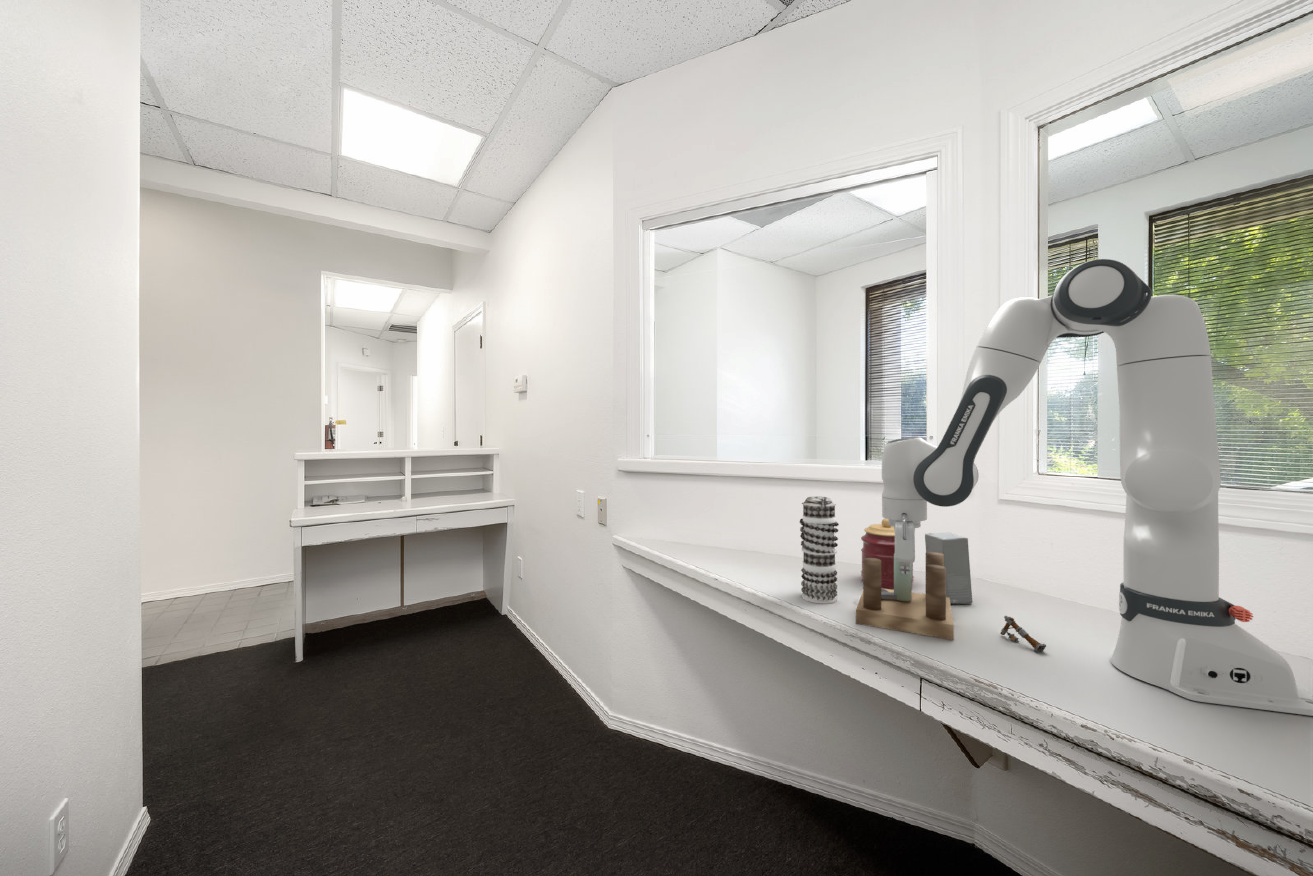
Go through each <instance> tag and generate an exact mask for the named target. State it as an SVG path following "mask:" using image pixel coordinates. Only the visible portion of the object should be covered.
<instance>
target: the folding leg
mask: <svg viewBox="0 0 1313 876" xmlns="http://www.w3.org/2000/svg"><path fill="white" fill-rule="evenodd" d="M912 588H913V585H912V563H910V573H909V574H902V573H901V572H900V562H899V561H896V559H895V553H894V589H893V590H894V592H881V599H896V600H900V601H911V600H912V593H913V592H912V591H913V590H912Z"/></svg>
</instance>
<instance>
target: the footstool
mask: <svg viewBox="0 0 1313 876" xmlns="http://www.w3.org/2000/svg"><path fill="white" fill-rule="evenodd" d="M862 581H863V582H862V583H863V584H862V587H863V588H862V589H863V590H862V593H861V595H860V598H859V601H858V603H857V606H856V608H855V624H857V623H860V624H859V625H863V624H865V625H864V626H869V625H870V626H869V627H876V628H880V627H882V628H881V629H886V628H887V629H888V630H894V631H899V632H905V633H909V632H912V633H911V634H915V633H917V634H916V635H921V634H923V635H922V636H927V635H928V636H929V637H933V636H935V637H934V638H938V637H940V638H939V639H944V640H945V639H946V640H951V641H954V639H955V638H954V626H955V625H954V621H953V620H954V618H953V613H952V607H951V606H952V605H951V604H950V598H949V597H946V568H945V567H944V554H941V553H937V552H926V551H925V593H920V592H919V593H918V592H912V600H911V601H900V600H896V599H881V592H894V589H885V588H881V560H880V559H876V558H864V559H863V580H862Z"/></svg>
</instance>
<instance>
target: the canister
mask: <svg viewBox="0 0 1313 876" xmlns="http://www.w3.org/2000/svg"><path fill="white" fill-rule="evenodd" d="M863 531H864V532H865V534H863V535H862V536H861V537H860V539H861V540H860V541H862V548H861V550H860V552H861V570H860V572H861V573H860V577H861V579H862V580H861V581H863V559H864V558H876V559H880V560H881V588H883V589H890V590H894V553H895V532H894V527H893V526H890V525H889V519H885V518H883V519H882V520H881V523H875V524H874V523H873V524H870V525H869V526H867V527H865V528H864V530H863ZM914 577H915V576H914V562H913V563H912V586H913V585H914V581H915V579H914Z"/></svg>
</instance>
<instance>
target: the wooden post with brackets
mask: <svg viewBox="0 0 1313 876" xmlns="http://www.w3.org/2000/svg"><path fill="white" fill-rule="evenodd" d="M1003 618H1004V621H1005V625H1004V626H1003V627H1002V629H1001V630H1000V635H1001V636H1005V635H1006V634H1007V636H1008V639H1010V640H1011V641H1012V642H1013V643H1014V642H1015V643H1017V644H1019V643H1020V641H1019V639H1020V638H1019V637H1017V636H1015V633H1011V632H1009V629H1011V630H1012V629H1014V630H1015V632H1016V633H1017V634H1018V635H1019V636H1021V638H1022V639H1025V640H1026V641H1027V643H1028V644H1029V645H1030V646H1031V647H1032V648H1033V649H1034V650H1033V652H1034V653H1038V652H1044V651H1045V649H1046V647H1047V644H1046V643H1041V642H1039V641H1037V640H1036V639H1035V638H1033V637H1032V636H1030V633H1028V632H1027V631H1026V630H1025V629H1024V628H1023V627H1022V626H1019V624H1017V622H1016V620H1015V618H1014V617H1011V616H1008V615H1004V616H1003Z"/></svg>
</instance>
